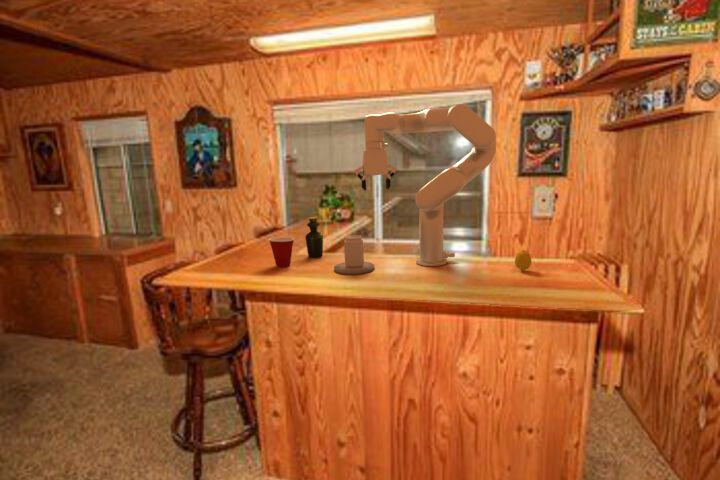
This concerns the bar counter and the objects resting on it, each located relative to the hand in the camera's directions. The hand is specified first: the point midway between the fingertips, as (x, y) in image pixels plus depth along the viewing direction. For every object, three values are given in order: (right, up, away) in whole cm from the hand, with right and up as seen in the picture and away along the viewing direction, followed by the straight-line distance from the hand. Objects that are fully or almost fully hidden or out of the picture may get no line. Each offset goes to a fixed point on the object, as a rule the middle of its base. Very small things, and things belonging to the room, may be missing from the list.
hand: (376, 189), depth 161 cm
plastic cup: (-39, -32, +5) cm, 51 cm away
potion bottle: (-27, -29, +18) cm, 43 cm away
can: (-9, -31, -6) cm, 33 cm away
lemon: (+53, -32, -18) cm, 65 cm away
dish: (-9, -32, -6) cm, 34 cm away
